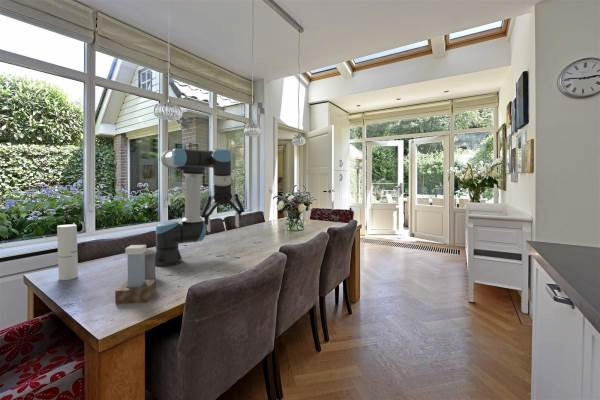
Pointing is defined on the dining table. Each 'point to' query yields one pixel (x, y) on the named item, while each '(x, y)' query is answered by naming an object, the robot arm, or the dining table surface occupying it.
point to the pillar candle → (149, 265)
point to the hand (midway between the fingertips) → (223, 228)
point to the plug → (136, 265)
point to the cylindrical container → (67, 251)
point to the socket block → (135, 293)
